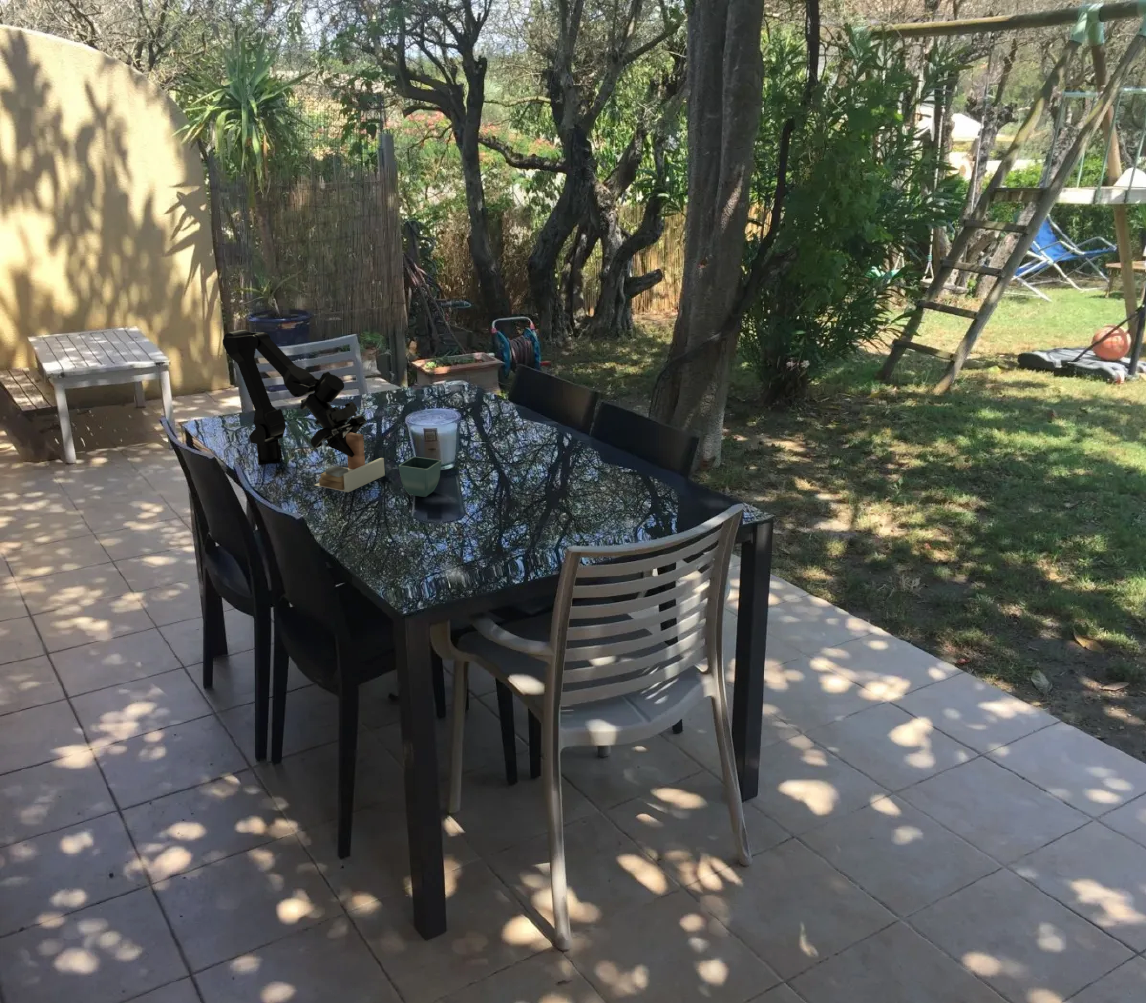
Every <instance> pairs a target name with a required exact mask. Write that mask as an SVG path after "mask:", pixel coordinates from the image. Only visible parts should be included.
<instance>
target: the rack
mask: <svg viewBox="0 0 1146 1003" xmlns="http://www.w3.org/2000/svg"><path fill="white" fill-rule="evenodd" d="M342 467H343V466H342ZM343 468H346V469H348V472H347V473H345V474H343V475H344V487H345V489H344V490H339V489H335V488H330V487H325V486H320V485H319V482H318V483H315V484H314V486H315V487H321V488H325V489H330V490H336V491H340V492H344V493H350V492H353V491H354V490H356V489H358V488H361V487H363V486H365V485H367V484H369V483H371V482H374V481H375V480H378V479H380V478H382V477H385V476H386V474H385V471H386V470H385V458H384V457H380V458H377V459H375V460H373V461H370V462H368V463H365V465H363V466H361V467H358V468H356V469H349V468H348V467H343Z"/></svg>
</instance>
